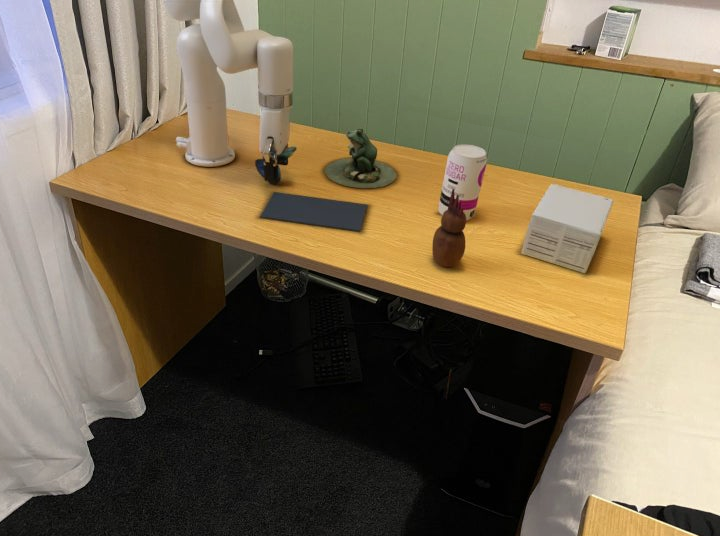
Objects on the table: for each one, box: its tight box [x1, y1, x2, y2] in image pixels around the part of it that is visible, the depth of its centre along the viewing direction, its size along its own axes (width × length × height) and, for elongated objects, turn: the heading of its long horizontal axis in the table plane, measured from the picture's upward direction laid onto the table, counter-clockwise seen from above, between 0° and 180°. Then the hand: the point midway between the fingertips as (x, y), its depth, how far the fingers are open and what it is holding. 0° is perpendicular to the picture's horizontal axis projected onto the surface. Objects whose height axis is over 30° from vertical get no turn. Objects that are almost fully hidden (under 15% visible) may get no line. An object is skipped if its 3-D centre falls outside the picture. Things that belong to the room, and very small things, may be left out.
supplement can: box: [437, 144, 488, 221], centre depth 125 cm, size 8×8×15 cm
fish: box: [254, 145, 298, 185], centre depth 134 cm, size 4×10×10 cm, turn 79°
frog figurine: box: [324, 127, 397, 189], centre depth 141 cm, size 18×18×12 cm
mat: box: [259, 191, 368, 233], centre depth 127 cm, size 22×12×1 cm, turn 79°
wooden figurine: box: [431, 189, 467, 268], centre depth 109 cm, size 7×6×15 cm
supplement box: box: [520, 183, 615, 274], centre depth 117 cm, size 17×13×9 cm
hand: (276, 172), depth 135 cm, fingers open, 9 cm apart
